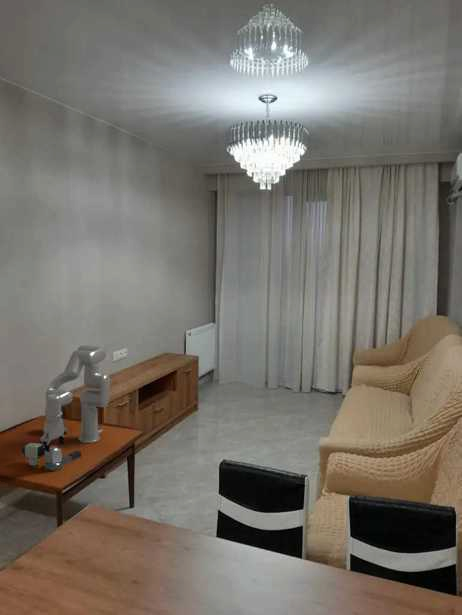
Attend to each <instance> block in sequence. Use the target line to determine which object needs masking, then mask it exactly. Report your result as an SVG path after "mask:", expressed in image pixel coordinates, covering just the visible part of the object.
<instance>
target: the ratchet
mask: <svg viewBox="0 0 462 615" xmlns="http://www.w3.org/2000/svg"><path fill="white" fill-rule="evenodd" d="M81 457H82V451H80V450H76V451H72V452H71V453H68V455H66V456H64V457H63V456H62V461H60V462H59V463H57V464H55V465H54V466H53V465H50V464H47V463H46V462H45V461H44V470H45V471H46V472H52V473H53V472H56V471H60V470H61V469H63V466H64V465H65V464H66V465H67V464H68V463H70V462H72V461H74V460H77V459H78V458H81Z"/></svg>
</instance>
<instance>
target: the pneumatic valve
mask: <svg viewBox="0 0 462 615" xmlns="http://www.w3.org/2000/svg"><path fill="white" fill-rule="evenodd" d="M44 451H45V448H44V444H43V443H39V442H38V443H37V442H36V443H35V442H28V443H26V444H25V445H23V447H22V448H21V452H22V454H23V457H24V458H28V465H29V466H36V465H39V464H40V459H41V458H42V457H45V452H44Z"/></svg>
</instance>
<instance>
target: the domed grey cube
mask: <svg viewBox="0 0 462 615" xmlns="http://www.w3.org/2000/svg"><path fill="white" fill-rule="evenodd" d="M44 452H45V455H44V460H45V461H44V463H45V462H46V463H47V464H50V465H53V466H54V465H55V464H57V463H59V462H60V461H62V457H63V453H62V448H60V446H57V445H51V446H50V451H49V452H47V451H44Z"/></svg>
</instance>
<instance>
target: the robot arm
mask: <svg viewBox="0 0 462 615" xmlns="http://www.w3.org/2000/svg"><path fill="white" fill-rule="evenodd" d="M106 356H107V350H106V349H105V348H104V347H103V346H94V345H93V346H92V345H80V346H79V347H78V348H77V350H74V351H73V352H72V353H71V355H70V357H69V359H68V363H67V364H66V366H65V368H64V371H63V372H62V373H60V374H59V375H57V376H56V377H55V378H54V379H53V380H52V381H51V382H50V384H49V386H47V390H46V393H45V396H44V397H45V398H44V399H45V409H46V413H45V421H44V425H43V434H42V436H41V437H40V438H39V440H40V442H41V444H43V445H44V448H45V451H47V452H49V451H50V442H51V441H53V440H55V439H57V438H58V444H59V445H63V446H64V445H65V437H66V434H67V431H68V427H65V425H64V420H63V417H62V418H61V415H62V416H63V412H62V413H61V409H62V407H63V406H67V405H70V404H71V402H72V401H73V398H74V395H73V393H72V392H71V391H70V390H64V389H63V390H62V389H59V388H60V387H61V386H62V385H63V384H65V383H68V382H73V381H75V380H77V379H79V377H80V375H81V372H82V370H84V371H83V372H84V373H83V386H84V387H86V388H88V389H85V390H83V391H82V392H81V393H80V395H79V396H80V397H79V401H80V404H81V435H80V436H79V437H78V441H79V443H83V444H93V443H97V442H98V441H100V439H101V436H100V434H101V433H103V431H104V430H103V429H98V426H99V424H98V423H99V421H98V420H99V419H98V416H99V415H98V414H99V410H98V408H97V407H99V408H104V407H107V406H108V405H109V401H110V391H111V390H110V389H111V379H110V376H109V375H108V374H106V373H101V372H100V370H99V369H100V368H99V367H100V363H101V362H103V361H104V360H105V358H106ZM83 367H84V368H83ZM95 389H98V390H95Z"/></svg>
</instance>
